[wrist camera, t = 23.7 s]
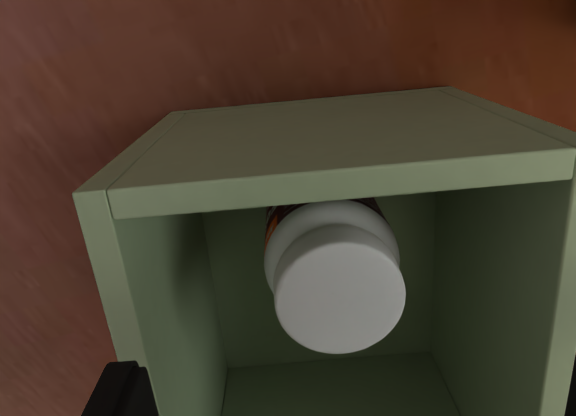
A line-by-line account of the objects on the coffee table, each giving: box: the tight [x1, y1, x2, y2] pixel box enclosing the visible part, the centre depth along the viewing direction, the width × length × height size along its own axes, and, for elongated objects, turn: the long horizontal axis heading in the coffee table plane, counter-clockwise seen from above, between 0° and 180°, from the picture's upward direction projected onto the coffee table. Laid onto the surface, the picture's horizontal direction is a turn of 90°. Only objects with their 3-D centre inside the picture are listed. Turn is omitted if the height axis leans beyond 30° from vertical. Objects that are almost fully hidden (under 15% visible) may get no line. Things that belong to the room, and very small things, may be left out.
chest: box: [72, 86, 576, 416], centre depth 18 cm, size 15×13×11 cm
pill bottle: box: [264, 197, 406, 354], centre depth 18 cm, size 5×5×8 cm
